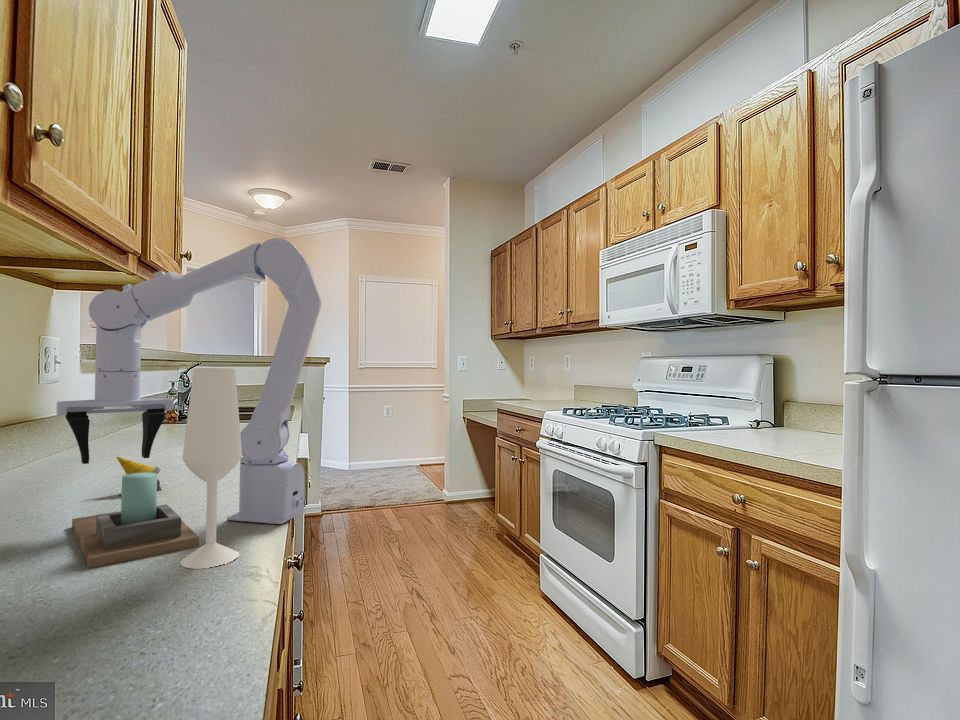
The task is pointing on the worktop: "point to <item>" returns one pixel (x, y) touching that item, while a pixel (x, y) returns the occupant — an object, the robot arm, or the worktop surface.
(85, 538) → the dock board
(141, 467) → the yellow cone with base
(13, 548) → the worktop surface
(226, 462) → the champagne flute
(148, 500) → the peg
